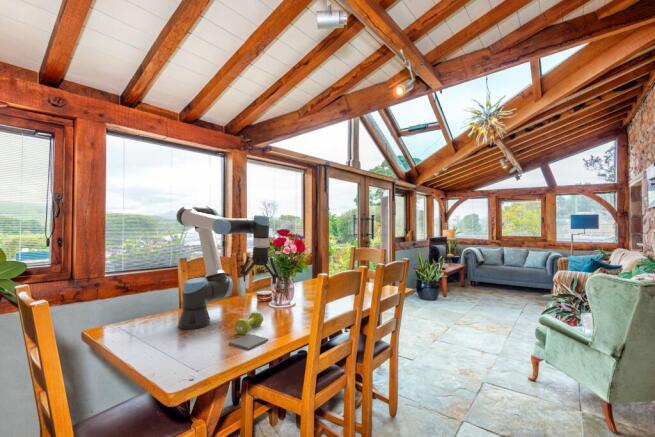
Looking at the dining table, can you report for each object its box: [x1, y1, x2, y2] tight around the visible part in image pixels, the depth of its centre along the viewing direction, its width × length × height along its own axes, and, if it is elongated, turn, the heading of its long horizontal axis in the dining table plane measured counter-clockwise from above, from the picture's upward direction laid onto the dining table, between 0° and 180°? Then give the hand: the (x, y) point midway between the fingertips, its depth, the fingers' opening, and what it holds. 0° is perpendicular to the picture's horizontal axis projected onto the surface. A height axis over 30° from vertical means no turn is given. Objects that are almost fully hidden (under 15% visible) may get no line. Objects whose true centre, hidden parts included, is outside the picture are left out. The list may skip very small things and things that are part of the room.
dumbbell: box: [233, 311, 264, 336], centre depth 157 cm, size 16×8×7 cm, turn 160°
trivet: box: [228, 333, 269, 351], centre depth 141 cm, size 12×12×1 cm
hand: (259, 289), depth 155 cm, fingers open, 13 cm apart
